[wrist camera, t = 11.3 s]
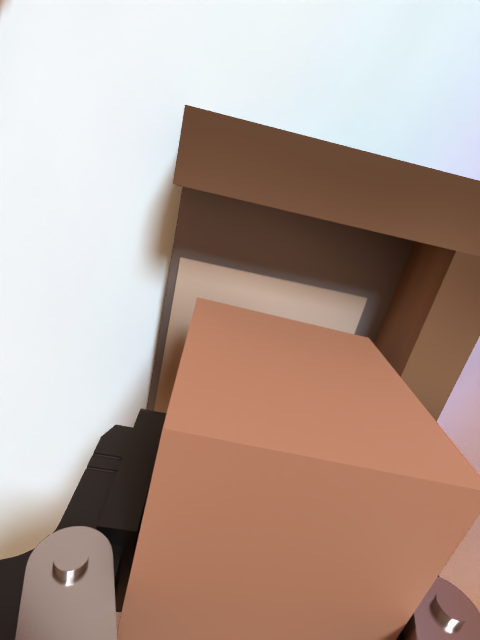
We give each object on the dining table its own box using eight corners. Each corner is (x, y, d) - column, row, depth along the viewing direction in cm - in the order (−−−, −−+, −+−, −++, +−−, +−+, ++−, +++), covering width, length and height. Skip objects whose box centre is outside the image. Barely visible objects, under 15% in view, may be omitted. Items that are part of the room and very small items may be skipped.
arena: (319, 560, 16) (334, 624, 14) (127, 533, 15) (109, 597, 13) (481, 191, 10) (548, 198, 8) (195, 118, 10) (184, 104, 7)
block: (368, 337, 10) (493, 492, 5) (279, 550, 13) (307, 773, 8) (196, 296, 9) (162, 428, 5) (143, 528, 12) (89, 753, 7)
